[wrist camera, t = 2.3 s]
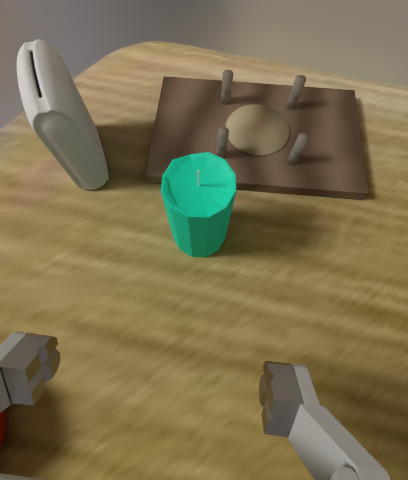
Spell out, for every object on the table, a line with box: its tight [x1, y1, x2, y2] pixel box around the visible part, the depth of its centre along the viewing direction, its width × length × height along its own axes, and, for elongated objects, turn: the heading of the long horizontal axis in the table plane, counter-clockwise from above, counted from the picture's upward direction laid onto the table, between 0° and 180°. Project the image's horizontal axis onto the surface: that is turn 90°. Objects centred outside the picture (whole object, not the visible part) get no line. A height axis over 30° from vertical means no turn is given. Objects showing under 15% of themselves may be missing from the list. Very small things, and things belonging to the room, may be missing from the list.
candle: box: [161, 152, 236, 257], centre depth 25 cm, size 6×6×12 cm
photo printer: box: [17, 40, 109, 190], centre depth 29 cm, size 10×4×12 cm, turn 19°
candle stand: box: [145, 70, 369, 200], centre depth 33 cm, size 26×16×6 cm, turn 85°
